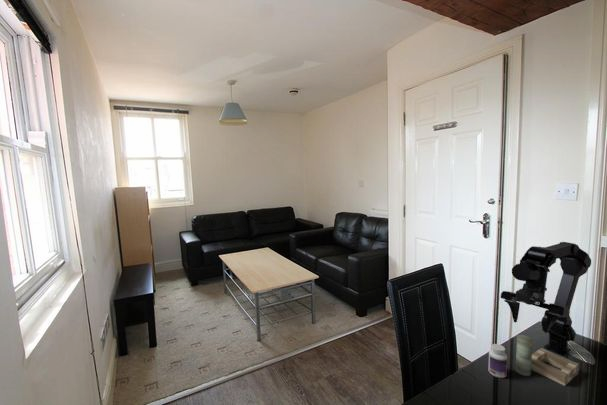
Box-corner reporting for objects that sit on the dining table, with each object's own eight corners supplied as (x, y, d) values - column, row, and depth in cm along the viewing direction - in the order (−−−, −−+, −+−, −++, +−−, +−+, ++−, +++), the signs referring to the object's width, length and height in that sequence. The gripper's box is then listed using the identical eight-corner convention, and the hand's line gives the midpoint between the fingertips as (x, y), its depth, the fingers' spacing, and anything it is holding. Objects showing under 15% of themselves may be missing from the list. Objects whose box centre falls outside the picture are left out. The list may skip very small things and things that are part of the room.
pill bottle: (509, 379, 101) (510, 352, 100) (492, 377, 102) (493, 351, 101) (502, 368, 106) (503, 343, 105) (485, 367, 108) (486, 341, 106)
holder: (540, 356, 112) (540, 348, 112) (578, 373, 103) (579, 363, 102) (526, 367, 107) (526, 358, 106) (564, 385, 97) (565, 376, 97)
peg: (519, 366, 107) (520, 333, 106) (533, 372, 104) (535, 339, 102) (512, 370, 105) (514, 337, 104) (527, 377, 101) (528, 343, 100)
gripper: (495, 274, 109) (489, 317, 108) (558, 289, 93) (552, 339, 92) (510, 276, 115) (505, 317, 113) (573, 290, 98) (567, 338, 97)
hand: (529, 327), depth 104 cm, fingers open, 9 cm apart
